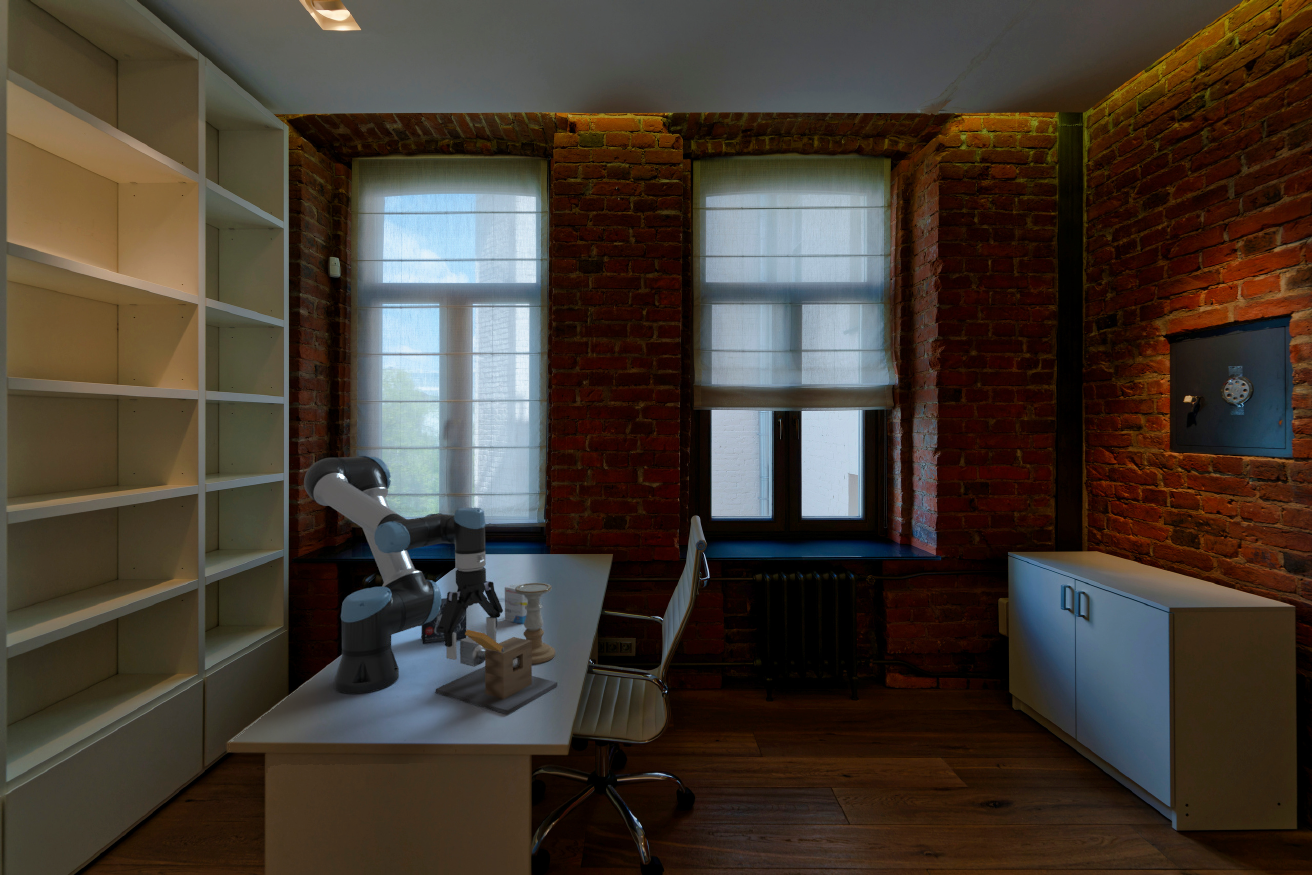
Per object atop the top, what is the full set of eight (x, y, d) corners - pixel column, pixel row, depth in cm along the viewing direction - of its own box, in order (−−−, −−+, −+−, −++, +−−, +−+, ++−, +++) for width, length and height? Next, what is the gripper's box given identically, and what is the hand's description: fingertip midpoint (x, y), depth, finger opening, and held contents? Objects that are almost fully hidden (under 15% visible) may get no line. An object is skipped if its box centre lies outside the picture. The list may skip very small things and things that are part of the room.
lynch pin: (457, 664, 158) (456, 641, 158) (471, 658, 162) (471, 635, 162) (509, 678, 149) (509, 653, 149) (523, 671, 153) (523, 647, 153)
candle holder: (510, 665, 170) (510, 593, 170) (513, 650, 182) (513, 582, 182) (555, 662, 172) (554, 591, 171) (555, 647, 184) (555, 580, 184)
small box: (422, 645, 187) (421, 606, 186) (420, 638, 193) (420, 600, 193) (467, 638, 192) (466, 600, 192) (464, 632, 198) (464, 595, 198)
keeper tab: (464, 634, 143) (467, 629, 144) (485, 649, 149) (488, 644, 150) (482, 638, 141) (484, 633, 141) (502, 653, 146) (505, 648, 147)
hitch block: (435, 692, 152) (435, 644, 152) (488, 668, 168) (488, 624, 168) (507, 714, 140) (507, 662, 140) (557, 686, 156) (557, 639, 156)
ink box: (539, 617, 213) (539, 584, 213) (522, 624, 206) (521, 589, 206) (521, 613, 218) (521, 581, 218) (504, 620, 211) (503, 586, 210)
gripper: (442, 579, 146) (444, 668, 146) (515, 560, 167) (516, 637, 167) (421, 576, 149) (422, 663, 149) (494, 557, 171) (496, 633, 171)
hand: (472, 650), depth 158 cm, fingers open, 13 cm apart
